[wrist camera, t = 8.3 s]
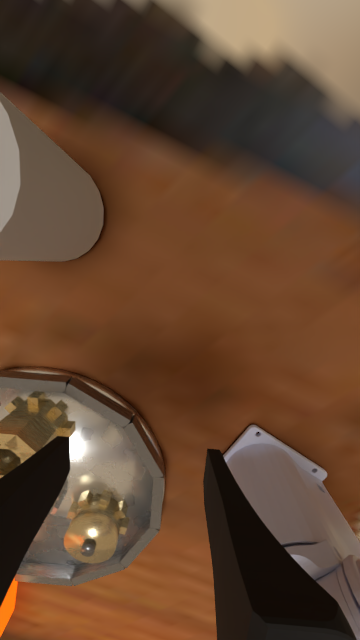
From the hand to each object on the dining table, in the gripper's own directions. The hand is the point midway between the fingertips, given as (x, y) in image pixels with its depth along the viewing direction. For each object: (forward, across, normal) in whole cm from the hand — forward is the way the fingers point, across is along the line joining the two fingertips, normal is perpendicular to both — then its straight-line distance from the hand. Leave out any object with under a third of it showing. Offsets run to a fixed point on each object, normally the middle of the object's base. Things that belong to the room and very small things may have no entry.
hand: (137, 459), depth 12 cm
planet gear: (+9, +11, +6) cm, 15 cm away
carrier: (+10, +11, +12) cm, 19 cm away
